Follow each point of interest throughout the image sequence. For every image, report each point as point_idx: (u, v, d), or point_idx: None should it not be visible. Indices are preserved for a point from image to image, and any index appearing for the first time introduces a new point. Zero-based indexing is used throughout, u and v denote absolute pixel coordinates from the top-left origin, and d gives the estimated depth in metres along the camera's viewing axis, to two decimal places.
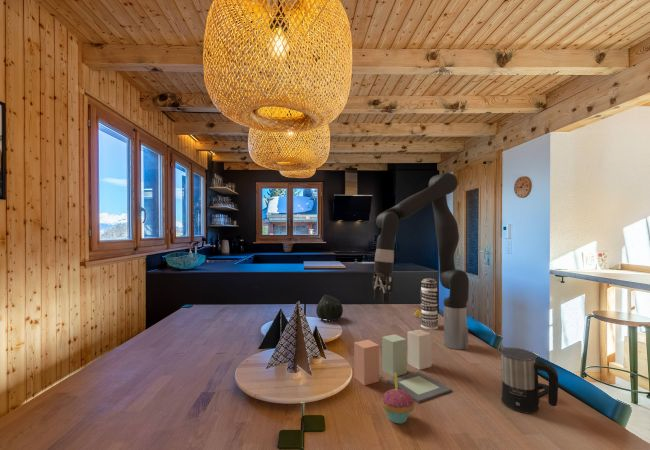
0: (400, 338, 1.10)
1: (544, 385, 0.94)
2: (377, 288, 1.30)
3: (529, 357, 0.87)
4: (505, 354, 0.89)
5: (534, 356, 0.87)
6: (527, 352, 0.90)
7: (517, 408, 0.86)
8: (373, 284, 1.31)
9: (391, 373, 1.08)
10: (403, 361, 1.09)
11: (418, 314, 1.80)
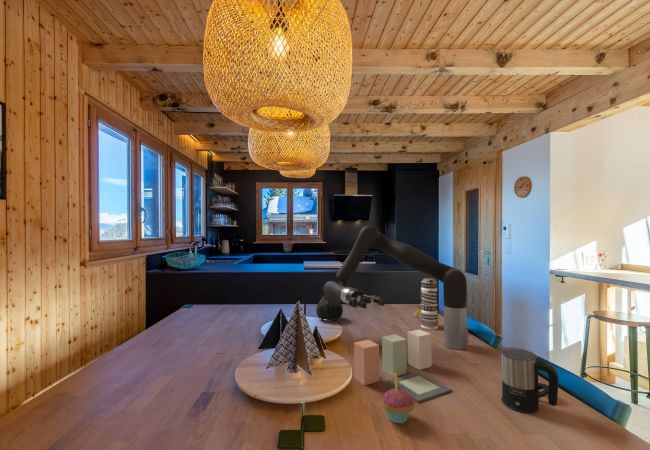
0: (400, 338, 1.10)
1: (544, 385, 0.94)
2: (376, 301, 1.27)
3: (529, 357, 0.87)
4: (505, 354, 0.89)
5: (534, 356, 0.88)
6: (527, 352, 0.90)
7: (517, 408, 0.86)
8: None
9: (391, 373, 1.08)
10: (403, 361, 1.09)
11: (418, 314, 1.80)
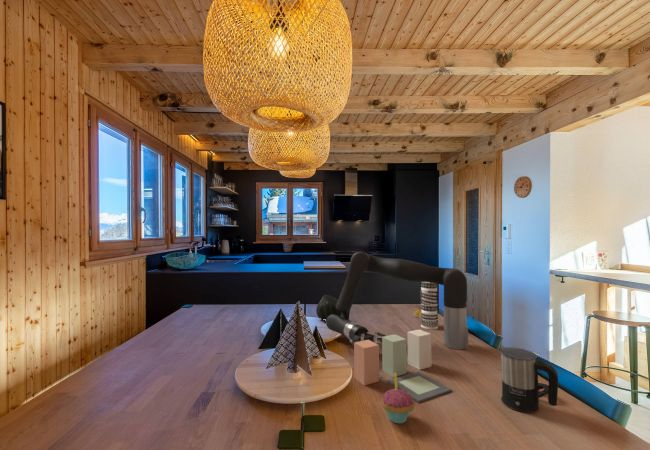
0: (400, 338, 1.10)
1: (544, 385, 0.94)
2: (380, 340, 1.24)
3: (529, 356, 0.87)
4: (505, 354, 0.89)
5: (534, 356, 0.88)
6: (527, 352, 0.90)
7: (517, 408, 0.86)
8: None
9: (391, 373, 1.08)
10: (403, 361, 1.09)
11: (418, 314, 1.80)
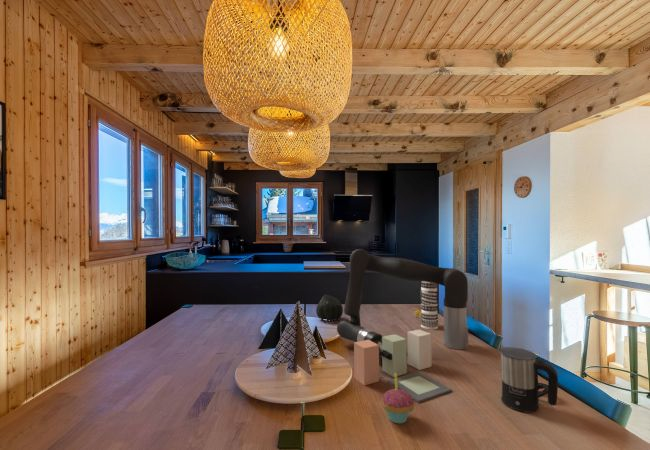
0: (400, 338, 1.10)
1: (544, 385, 0.94)
2: None
3: (529, 356, 0.87)
4: (505, 354, 0.89)
5: (534, 356, 0.88)
6: (527, 352, 0.90)
7: (516, 407, 0.86)
8: None
9: (391, 373, 1.07)
10: (403, 361, 1.09)
11: (418, 314, 1.80)
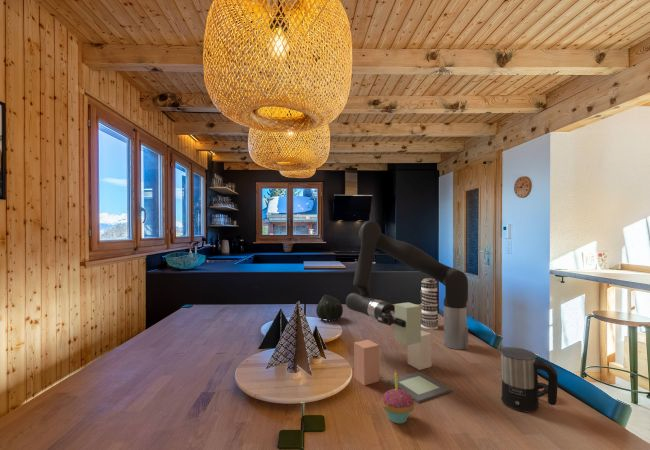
0: (414, 305, 1.04)
1: (544, 384, 0.95)
2: None
3: (529, 356, 0.88)
4: (505, 353, 0.90)
5: (534, 355, 0.88)
6: (527, 351, 0.91)
7: (516, 407, 0.86)
8: None
9: (405, 341, 1.01)
10: (417, 329, 1.03)
11: None
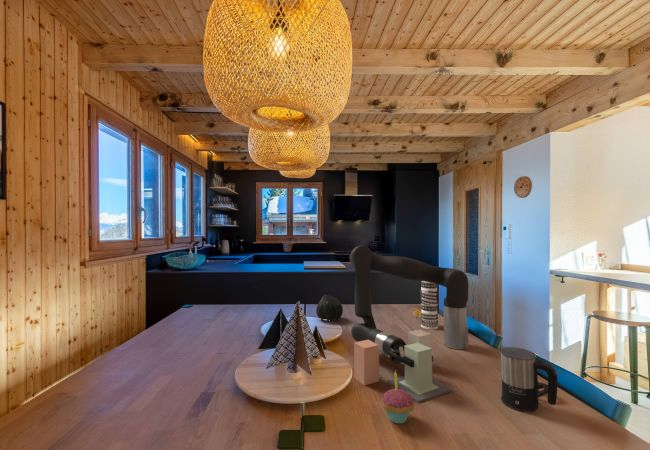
0: (425, 347, 1.00)
1: (544, 384, 0.95)
2: None
3: (528, 356, 0.88)
4: (505, 353, 0.90)
5: (533, 355, 0.88)
6: (527, 351, 0.91)
7: (516, 407, 0.87)
8: None
9: (416, 386, 0.97)
10: (429, 373, 0.98)
11: (417, 314, 1.80)
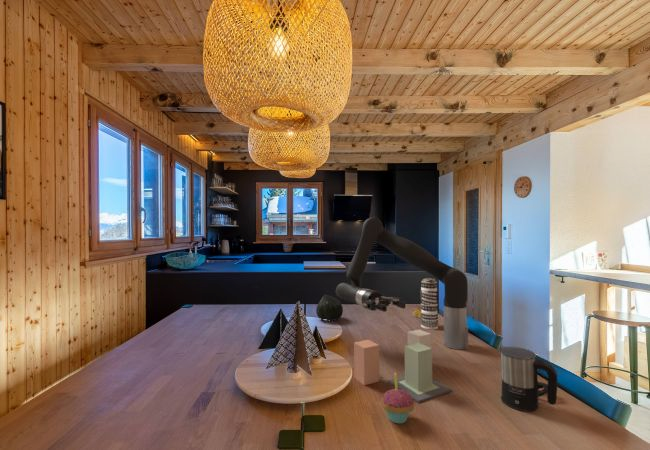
0: (425, 347, 1.00)
1: (544, 384, 0.95)
2: (396, 303, 1.16)
3: (528, 356, 0.88)
4: (505, 353, 0.90)
5: (533, 355, 0.88)
6: (527, 351, 0.91)
7: (516, 406, 0.87)
8: None
9: (416, 386, 0.97)
10: (429, 373, 0.98)
11: (417, 314, 1.80)
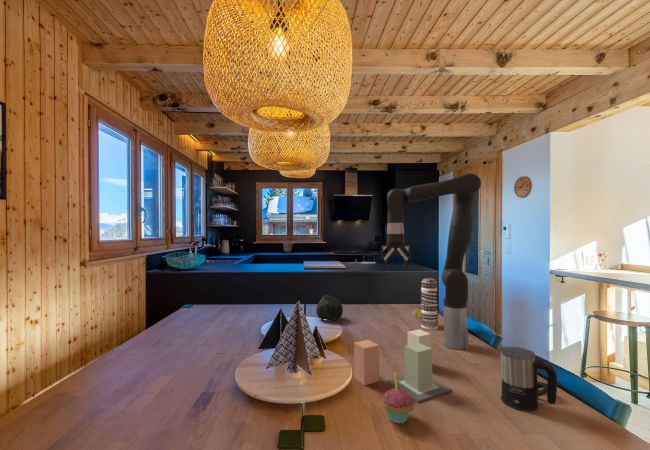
0: (425, 347, 1.00)
1: (544, 384, 0.95)
2: (405, 259, 1.41)
3: (528, 355, 0.88)
4: (504, 353, 0.90)
5: (533, 355, 0.88)
6: (526, 351, 0.91)
7: (516, 406, 0.87)
8: None
9: (416, 386, 0.97)
10: (429, 373, 0.98)
11: (417, 314, 1.80)
